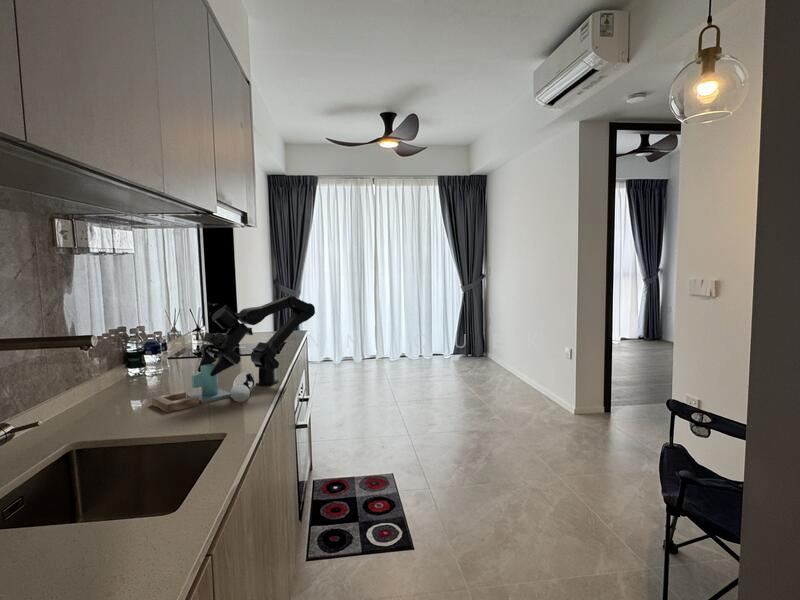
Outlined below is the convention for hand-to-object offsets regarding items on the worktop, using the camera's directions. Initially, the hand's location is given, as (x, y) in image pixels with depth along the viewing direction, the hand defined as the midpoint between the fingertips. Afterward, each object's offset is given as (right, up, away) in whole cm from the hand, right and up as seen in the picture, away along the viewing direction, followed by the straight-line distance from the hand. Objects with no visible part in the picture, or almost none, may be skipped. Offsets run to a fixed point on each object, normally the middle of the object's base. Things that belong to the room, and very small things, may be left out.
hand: (204, 373), depth 159 cm
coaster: (+1, -8, +2) cm, 9 cm away
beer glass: (+14, -6, -5) cm, 16 cm away
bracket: (-6, -9, -6) cm, 13 cm away
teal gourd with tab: (0, -8, +1) cm, 7 cm away
